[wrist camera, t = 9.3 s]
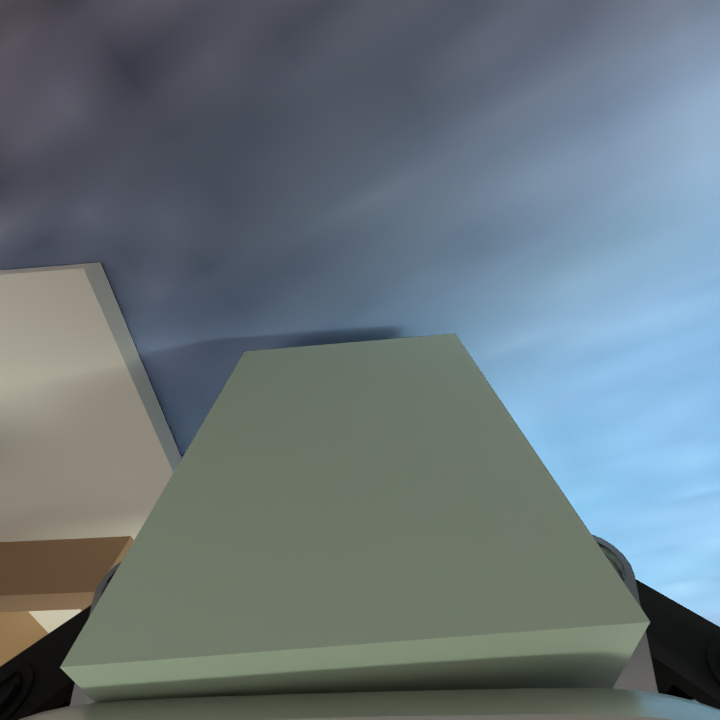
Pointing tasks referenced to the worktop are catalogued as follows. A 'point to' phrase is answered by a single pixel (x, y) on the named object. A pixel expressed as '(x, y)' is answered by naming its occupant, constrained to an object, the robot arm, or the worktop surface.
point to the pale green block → (358, 544)
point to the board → (69, 446)
